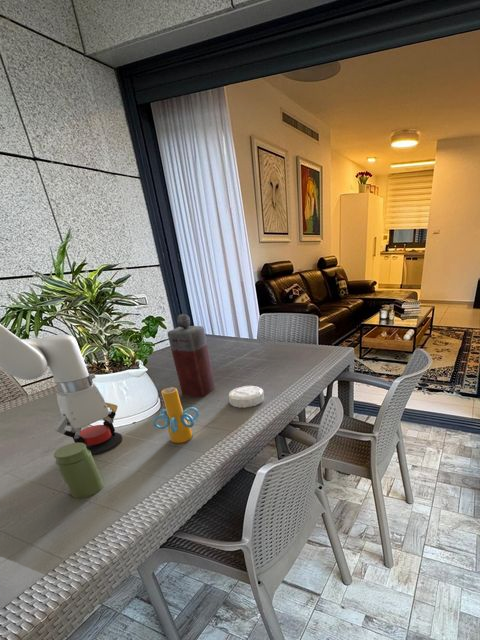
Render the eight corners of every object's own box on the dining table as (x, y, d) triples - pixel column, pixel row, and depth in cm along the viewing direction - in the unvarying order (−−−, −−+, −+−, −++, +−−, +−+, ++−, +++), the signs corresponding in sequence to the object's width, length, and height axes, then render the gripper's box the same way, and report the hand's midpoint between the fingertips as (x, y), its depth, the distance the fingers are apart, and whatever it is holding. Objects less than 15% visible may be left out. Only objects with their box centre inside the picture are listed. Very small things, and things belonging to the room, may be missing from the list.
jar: (64, 494, 81) (44, 455, 76) (90, 477, 87) (73, 439, 81) (85, 500, 79) (66, 460, 74) (110, 482, 84) (94, 444, 79)
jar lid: (108, 428, 104) (106, 422, 103) (114, 438, 99) (112, 431, 98) (78, 437, 100) (75, 430, 99) (83, 448, 95) (80, 441, 94)
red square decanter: (189, 385, 137) (172, 311, 123) (215, 387, 135) (201, 312, 121) (176, 394, 130) (156, 317, 116) (203, 397, 127) (186, 317, 113)
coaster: (65, 451, 98) (64, 449, 97) (101, 430, 107) (101, 429, 107) (96, 459, 94) (95, 457, 93) (131, 436, 103) (131, 435, 103)
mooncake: (271, 397, 124) (270, 388, 123) (247, 411, 116) (246, 401, 114) (246, 391, 130) (245, 382, 129) (222, 403, 122) (220, 393, 120)
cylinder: (210, 433, 104) (200, 386, 96) (185, 451, 96) (171, 401, 88) (179, 426, 108) (167, 380, 101) (152, 442, 100) (137, 394, 93)
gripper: (99, 371, 100) (118, 425, 108) (30, 393, 87) (58, 453, 95) (114, 375, 96) (133, 431, 105) (45, 399, 83) (73, 460, 92)
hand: (97, 441), depth 100 cm, fingers closed on jar lid, 7 cm apart
